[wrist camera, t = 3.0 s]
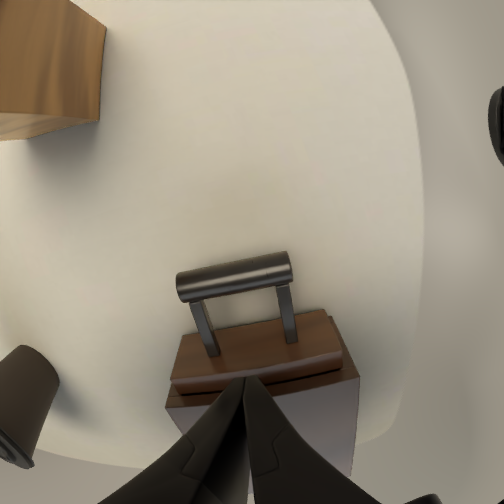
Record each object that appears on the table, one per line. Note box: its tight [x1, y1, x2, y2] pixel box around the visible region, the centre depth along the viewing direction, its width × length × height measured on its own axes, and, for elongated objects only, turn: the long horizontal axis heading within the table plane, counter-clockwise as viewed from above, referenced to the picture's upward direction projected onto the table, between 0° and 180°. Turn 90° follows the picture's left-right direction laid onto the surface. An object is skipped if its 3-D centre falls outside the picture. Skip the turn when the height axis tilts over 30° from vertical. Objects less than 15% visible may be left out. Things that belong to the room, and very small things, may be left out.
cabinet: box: [165, 316, 360, 494], centre depth 17 cm, size 13×10×6 cm
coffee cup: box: [0, 345, 59, 469], centre depth 14 cm, size 8×8×10 cm
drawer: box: [170, 251, 343, 395], centre depth 16 cm, size 16×8×4 cm, turn 12°
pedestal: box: [0, 0, 106, 141], centre depth 7 cm, size 6×6×10 cm
